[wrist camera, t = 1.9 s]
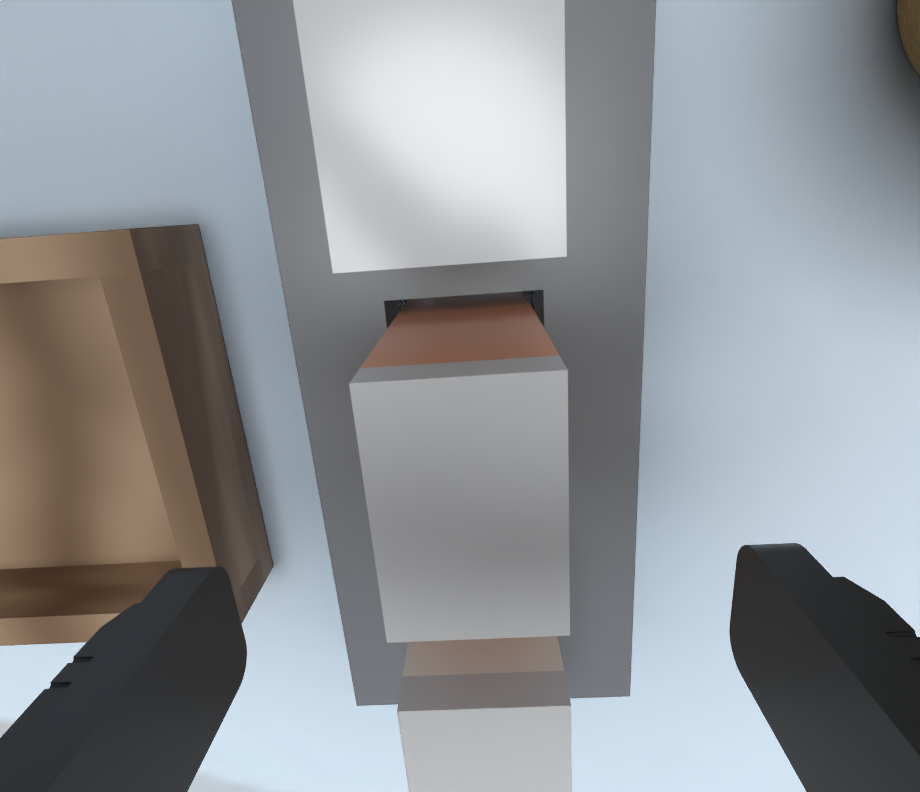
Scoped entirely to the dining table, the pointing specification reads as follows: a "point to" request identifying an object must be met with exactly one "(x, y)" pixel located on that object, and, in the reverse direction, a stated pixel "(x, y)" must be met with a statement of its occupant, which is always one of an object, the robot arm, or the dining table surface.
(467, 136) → the block
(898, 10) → the plant pot
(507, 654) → the block
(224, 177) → the dining table surface
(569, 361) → the frame
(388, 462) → the block
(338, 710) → the dining table surface
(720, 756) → the dining table surface
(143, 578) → the tray
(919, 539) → the dining table surface
